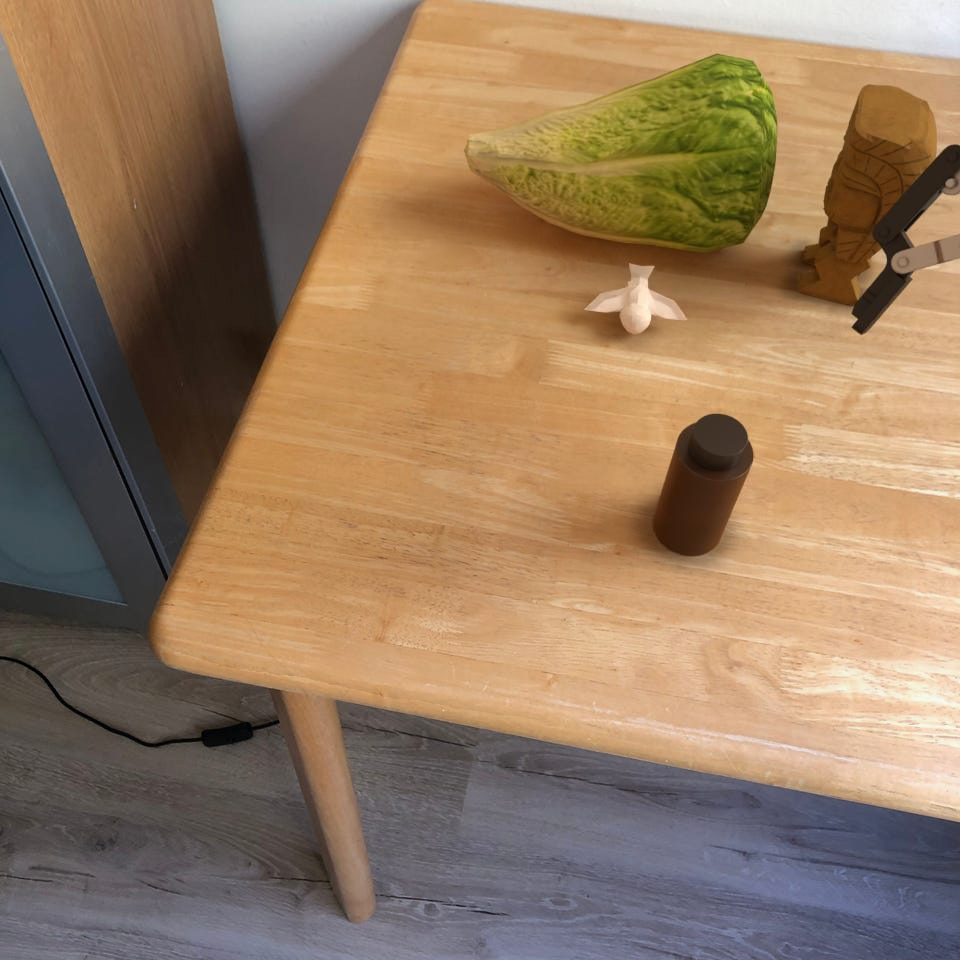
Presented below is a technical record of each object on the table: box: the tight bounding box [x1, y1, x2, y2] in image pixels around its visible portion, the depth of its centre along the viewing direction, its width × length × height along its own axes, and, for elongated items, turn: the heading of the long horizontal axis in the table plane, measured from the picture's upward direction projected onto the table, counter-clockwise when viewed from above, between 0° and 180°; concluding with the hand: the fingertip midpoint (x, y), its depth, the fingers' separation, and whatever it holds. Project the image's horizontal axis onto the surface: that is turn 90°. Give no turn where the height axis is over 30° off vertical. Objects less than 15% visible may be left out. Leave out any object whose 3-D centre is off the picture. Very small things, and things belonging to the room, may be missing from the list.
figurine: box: [796, 83, 938, 307], centre depth 73 cm, size 7×7×15 cm
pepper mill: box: [652, 413, 755, 557], centre depth 60 cm, size 5×5×10 cm
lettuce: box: [463, 53, 778, 253], centre depth 78 cm, size 14×24×15 cm
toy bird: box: [583, 262, 688, 335], centre depth 74 cm, size 8×5×5 cm, turn 83°
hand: (920, 378), depth 54 cm, fingers open, 8 cm apart
